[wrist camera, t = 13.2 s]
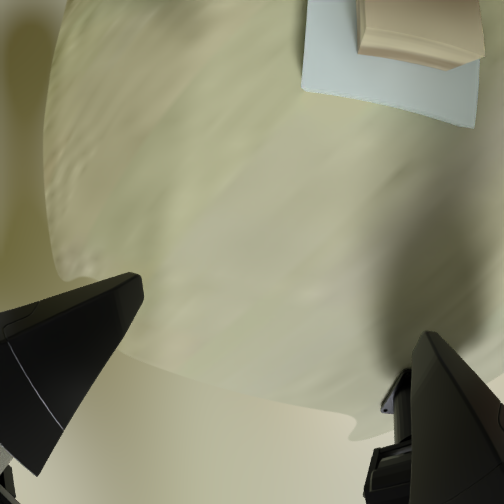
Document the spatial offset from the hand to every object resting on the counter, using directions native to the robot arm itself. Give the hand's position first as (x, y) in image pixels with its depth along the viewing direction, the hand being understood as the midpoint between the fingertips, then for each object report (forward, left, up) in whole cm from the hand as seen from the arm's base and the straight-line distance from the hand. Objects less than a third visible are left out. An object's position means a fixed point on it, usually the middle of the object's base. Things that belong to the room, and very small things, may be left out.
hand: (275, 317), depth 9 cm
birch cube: (+12, -4, -10) cm, 16 cm away
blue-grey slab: (+12, -4, -13) cm, 18 cm away
